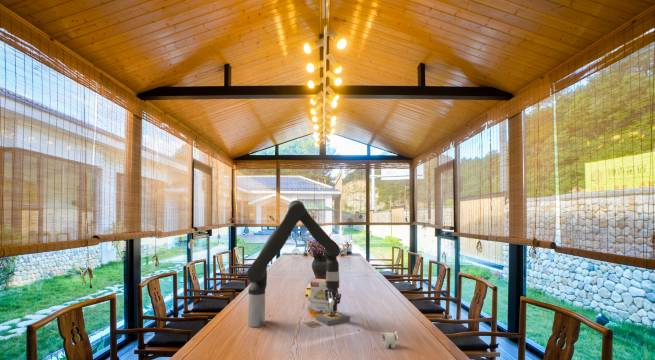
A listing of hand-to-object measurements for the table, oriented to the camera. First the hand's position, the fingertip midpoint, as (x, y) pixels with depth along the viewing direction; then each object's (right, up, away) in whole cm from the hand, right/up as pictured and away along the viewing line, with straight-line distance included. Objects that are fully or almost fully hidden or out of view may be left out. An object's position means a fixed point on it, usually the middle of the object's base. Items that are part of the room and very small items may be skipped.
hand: (332, 309), depth 209 cm
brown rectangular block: (-11, -7, -8) cm, 15 cm away
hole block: (0, -7, 0) cm, 7 cm away
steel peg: (0, -2, 0) cm, 2 cm away
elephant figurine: (+26, -5, -35) cm, 44 cm away
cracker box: (-6, -9, +16) cm, 19 cm away
